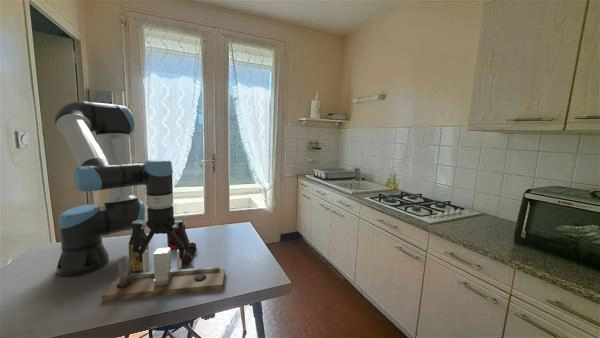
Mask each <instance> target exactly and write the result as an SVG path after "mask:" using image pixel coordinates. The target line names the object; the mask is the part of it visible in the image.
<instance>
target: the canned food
mask: <svg viewBox="0 0 600 338" xmlns="http://www.w3.org/2000/svg"><path fill="white" fill-rule="evenodd" d="M184 228H185V229H186V222H185V221H184ZM173 229H174V231H175V233H176V234H177V236H178V237H179V239H180V240H181V241H182V239H181V236H180V233H179V230H178V227H176V225H175V224H174V225H173ZM166 238H167V242H166V243H167V248H171V250H172V251H174V250H175V251H176V250H178V248H177V247H176V245H175V244H174V242H173V241H172V239H171V238H170V237H169V236H168V235H167V234H166ZM182 243H183V242H182Z"/></svg>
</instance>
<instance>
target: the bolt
mask: <svg viewBox="0 0 600 338" xmlns="http://www.w3.org/2000/svg"><path fill="white" fill-rule="evenodd" d="M189 243H190V246H189V248H188V249H184V258H183V259H181V262H182V266H181V267H188V266H190V264H191V263H192V261H193V259H194V258H193V256H192V255H194V254H195V253H196V251H197V249H198V248H197V244H196V243H195V242H189Z"/></svg>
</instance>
